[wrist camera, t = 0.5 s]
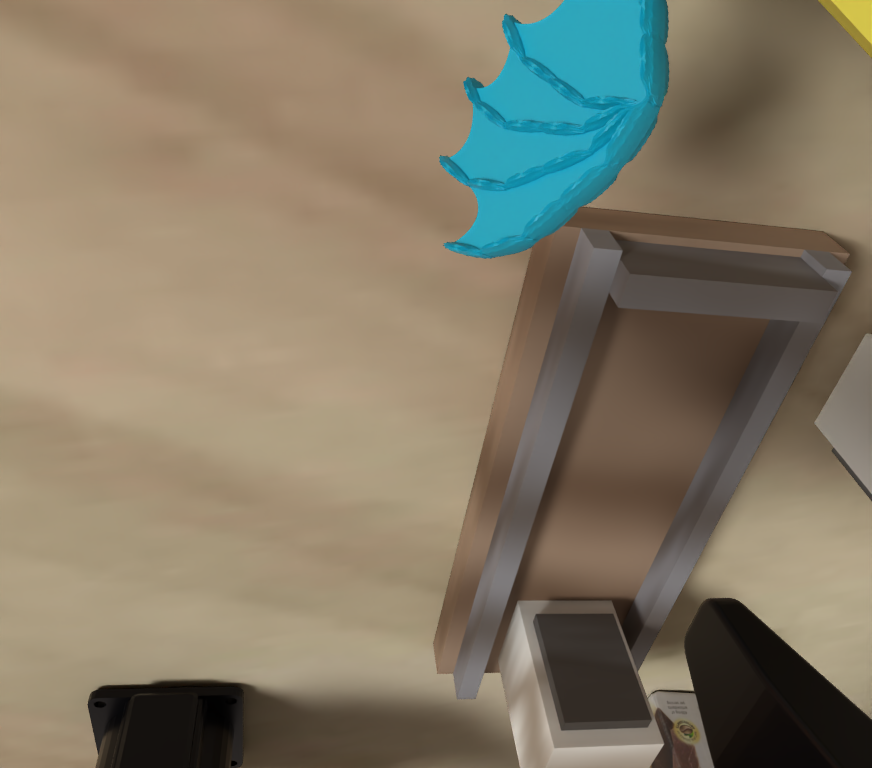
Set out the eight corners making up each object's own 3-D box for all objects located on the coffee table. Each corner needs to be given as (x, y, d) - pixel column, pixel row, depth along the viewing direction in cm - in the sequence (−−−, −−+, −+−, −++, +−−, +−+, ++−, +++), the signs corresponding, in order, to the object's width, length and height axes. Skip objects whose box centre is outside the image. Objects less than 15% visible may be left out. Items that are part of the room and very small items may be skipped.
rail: (621, 641, 35) (681, 808, 29) (433, 643, 33) (456, 820, 28) (822, 231, 23) (997, 374, 17) (543, 202, 21) (628, 350, 15)
